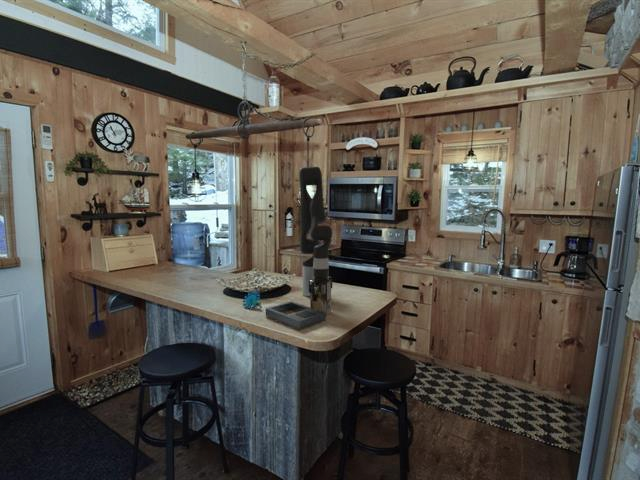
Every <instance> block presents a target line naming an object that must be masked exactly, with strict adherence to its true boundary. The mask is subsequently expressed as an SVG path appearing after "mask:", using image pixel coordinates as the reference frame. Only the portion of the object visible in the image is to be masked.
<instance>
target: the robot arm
mask: <svg viewBox="0 0 640 480" xmlns="http://www.w3.org/2000/svg"><path fill="white" fill-rule="evenodd" d="M298 173H299V175H298V176H299V190H300V205H299V207H300V215H299V216H300V218H299V219H300V237H299V238H300V241H299V242H300V243H299V250H300V253H301V254H303V255H312V256H310V257H309V258H306V259H304V260H302V295H303V296H304V297H310V293H312V300H313V301H315V302H316V301H317V294H316V293H317V291H318V290H319V285H318V282H323V281H326V280H331V290H332V289H333V277H332V276H329V275H330V269H329V268H330V266H329V265H330V264H329V262H330V261H329V249H330V245H331V241H332V238H333V229H332V227H331V226H330V225H319V224H321V223H324V222H326V220H327V217H326V210H325V205H324V192H323V191H324V190H323V175H322V170H321V168H320V167H319V166H303V167H300V169H299V172H298ZM307 186H316V187H315V189H316V190H315V192H314V195H313V196H312V197H311V195H310V193H309V191H308V189H307ZM309 231H310V232H309ZM308 234H309V235H310V237H307V236H308ZM320 241H322V242H321V244H320ZM313 279H314V280H313ZM312 280H313V281H312ZM314 283H316V284H317V285H318V287H314V285H315V284H314ZM311 288H312V290H311ZM314 289H316V290H315V291H314Z"/></svg>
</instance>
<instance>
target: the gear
mask: <svg viewBox="0 0 640 480" xmlns="http://www.w3.org/2000/svg"><path fill="white" fill-rule="evenodd" d="M260 297H261V294H260V293H259V292H258V291H251V292H248V293H247V295H245V296H244V298H243V300H242V302H243V303H242V307H244V308H245V309H246V308H247V307H248V308H247V309H249V308H251V309H252V308H255V307H256V306H257V307H260V308H262V305H261V301H260V300H261V298H260ZM245 299H246V300H245ZM257 300H258V301H257Z"/></svg>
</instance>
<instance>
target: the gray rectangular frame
mask: <svg viewBox="0 0 640 480" xmlns="http://www.w3.org/2000/svg"><path fill="white" fill-rule="evenodd" d="M290 311H292V312H294V313H290V314H285V313H286V312H290ZM283 312H284V313H283ZM266 316H268V317H270V318H269V319H271V318H272V319H271V320H273V319H274V321H276V320H277V321H276V322H278V321H279V322H278V323H280V322H281V324H283V325H285V324H286V325H285V326H288V327H290V328H292V327H293V328H292V329H295V330H297V331H302V330H304V329H308V328H310V327H313V326H315V325H319V324H321V323H324V322H326V321H327V320H326V319H327V317H326V316H327V315H326V313H325V312H322V311H319V310H316V309H313V308H310V306H306V305H304V304H301V303H298V302H294V301H291V300H290V301H288V302H287V301H286V302H284V303H281V304H276V305H273V306H269V307H266V308H265V317H266ZM268 317H267V318H268Z"/></svg>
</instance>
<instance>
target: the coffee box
mask: <svg viewBox="0 0 640 480" xmlns="http://www.w3.org/2000/svg"><path fill="white" fill-rule="evenodd" d="M313 280H314V279H313ZM313 280H312V281H313ZM314 284H315V285H314V287H318V285H319V290H318V291H317V293H316V294H317V301H316V302H315V301H313V300H312V293H310V296H309V299H310V300H309V301H310V303H309V307H310V308H313V309H316V310H319V311H322V312H325V313H326V316H328V315H329V314H330V313H332V289H331V280H326V281H323V282H318V285H317V284H316V283H314ZM311 290H312V288H311ZM315 290H316V289H314V291H315Z"/></svg>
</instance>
